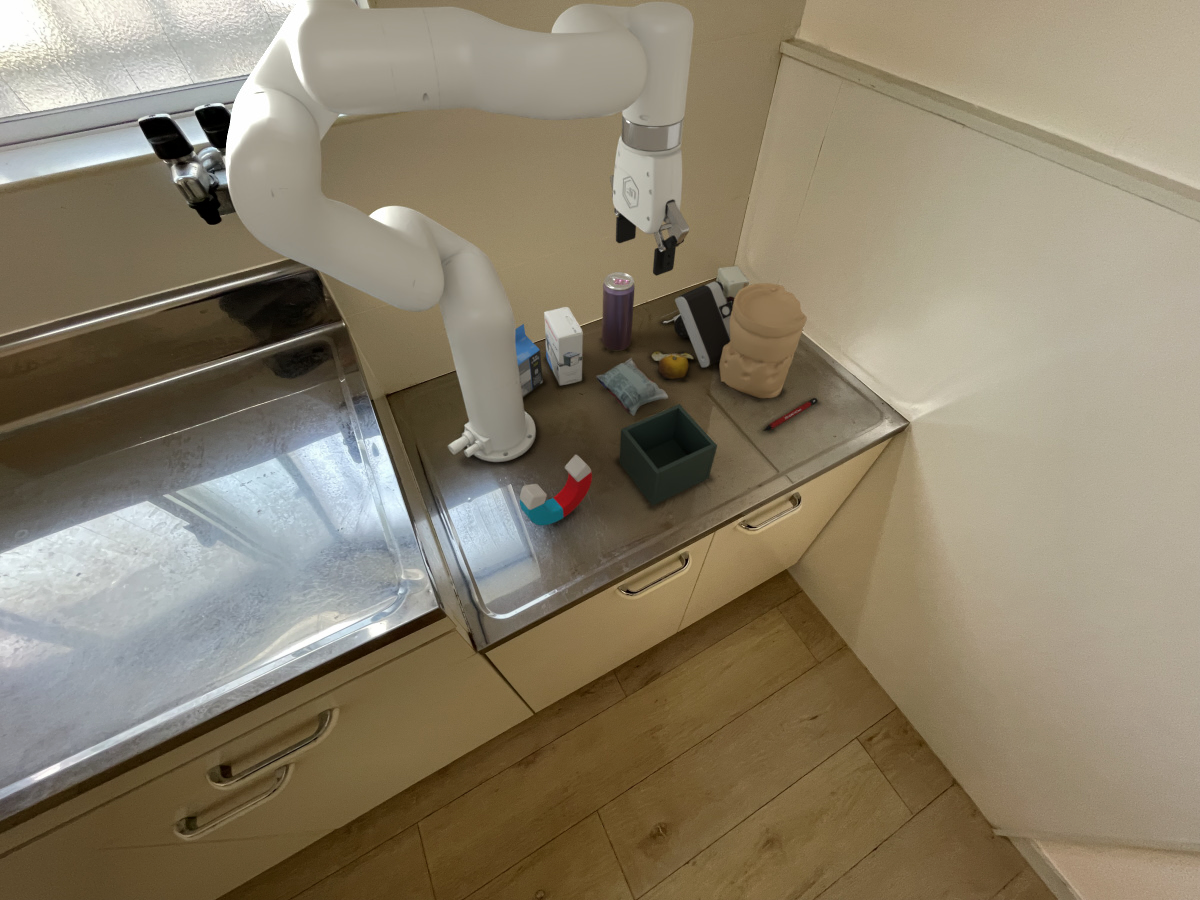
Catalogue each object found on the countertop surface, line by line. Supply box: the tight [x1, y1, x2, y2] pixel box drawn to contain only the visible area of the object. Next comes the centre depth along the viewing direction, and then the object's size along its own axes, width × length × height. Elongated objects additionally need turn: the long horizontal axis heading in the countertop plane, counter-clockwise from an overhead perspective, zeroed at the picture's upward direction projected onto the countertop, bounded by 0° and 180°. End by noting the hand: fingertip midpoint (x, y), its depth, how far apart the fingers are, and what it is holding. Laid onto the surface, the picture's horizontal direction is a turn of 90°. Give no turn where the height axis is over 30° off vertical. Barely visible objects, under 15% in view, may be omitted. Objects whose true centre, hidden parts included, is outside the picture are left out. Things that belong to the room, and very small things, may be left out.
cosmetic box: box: [715, 265, 750, 303], centre depth 117 cm, size 6×4×12 cm
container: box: [718, 282, 808, 399], centre depth 103 cm, size 13×13×18 cm
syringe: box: [662, 309, 681, 324], centre depth 122 cm, size 10×2×2 cm
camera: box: [674, 280, 733, 368], centre depth 114 cm, size 15×11×10 cm
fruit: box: [651, 351, 694, 380], centre depth 111 cm, size 8×8×4 cm
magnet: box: [519, 454, 593, 527], centre depth 87 cm, size 12×3×10 cm, turn 129°
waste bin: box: [618, 403, 718, 507], centre depth 93 cm, size 11×10×9 cm
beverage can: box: [601, 271, 636, 352], centre depth 112 cm, size 6×6×15 cm
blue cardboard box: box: [515, 323, 544, 398], centre depth 103 cm, size 9×4×12 cm, turn 140°
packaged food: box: [595, 357, 669, 417], centre depth 106 cm, size 9×12×5 cm
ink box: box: [543, 306, 584, 386], centre depth 108 cm, size 9×5×12 cm, turn 22°
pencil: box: [762, 397, 819, 432], centre depth 104 cm, size 1×14×1 cm, turn 125°
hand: (643, 255), depth 83 cm, fingers open, 9 cm apart
